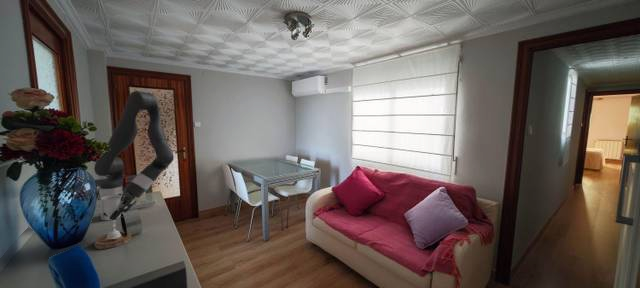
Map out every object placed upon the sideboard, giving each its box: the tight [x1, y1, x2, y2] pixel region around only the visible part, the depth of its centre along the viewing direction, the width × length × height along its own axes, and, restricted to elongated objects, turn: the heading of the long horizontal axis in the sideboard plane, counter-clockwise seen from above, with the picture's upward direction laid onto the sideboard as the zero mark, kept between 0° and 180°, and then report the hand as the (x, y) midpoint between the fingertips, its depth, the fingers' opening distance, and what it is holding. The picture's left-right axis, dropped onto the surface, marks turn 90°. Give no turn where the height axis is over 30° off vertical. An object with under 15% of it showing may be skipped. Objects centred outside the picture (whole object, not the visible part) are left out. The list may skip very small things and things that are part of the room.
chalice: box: [102, 195, 122, 239], centre depth 104 cm, size 7×7×18 cm
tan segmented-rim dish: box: [93, 230, 132, 250], centre depth 105 cm, size 12×12×2 cm
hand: (108, 217), depth 102 cm, fingers closed on chalice, 6 cm apart
